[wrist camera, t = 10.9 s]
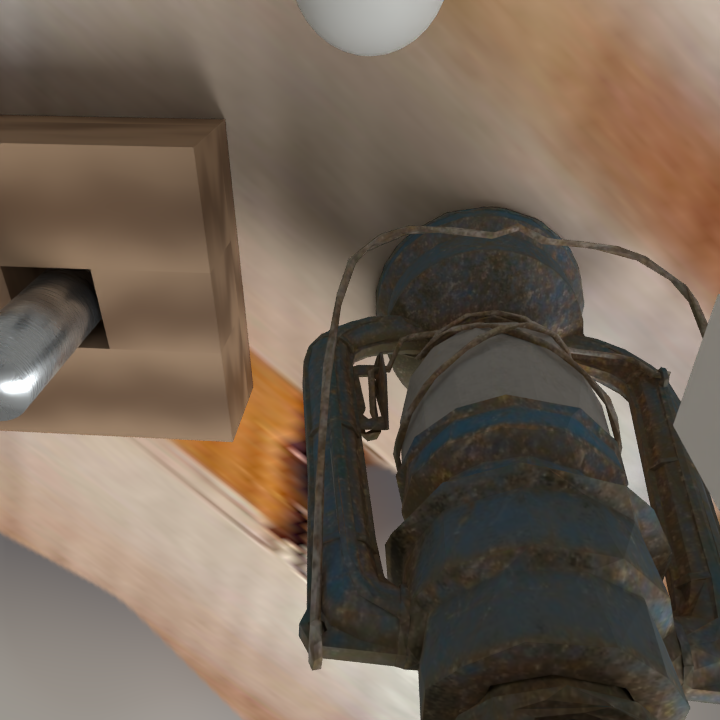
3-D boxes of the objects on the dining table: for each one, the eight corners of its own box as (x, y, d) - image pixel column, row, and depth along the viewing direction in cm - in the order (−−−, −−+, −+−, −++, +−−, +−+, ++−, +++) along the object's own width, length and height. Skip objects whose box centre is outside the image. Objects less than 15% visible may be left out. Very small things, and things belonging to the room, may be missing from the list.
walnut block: (-87, 113, 37) (-168, 139, 32) (224, 119, 35) (193, 147, 30) (5, 376, 46) (-45, 428, 41) (253, 386, 45) (232, 442, 40)
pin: (53, 243, 39) (-73, 347, 29) (118, 245, 38) (14, 350, 28) (69, 303, 41) (-43, 419, 31) (131, 305, 41) (39, 422, 30)
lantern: (319, 372, 44) (190, 935, 19) (331, 162, 36) (141, 643, 11) (602, 403, 44) (856, 1018, 19) (675, 198, 36) (1281, 776, 11)
